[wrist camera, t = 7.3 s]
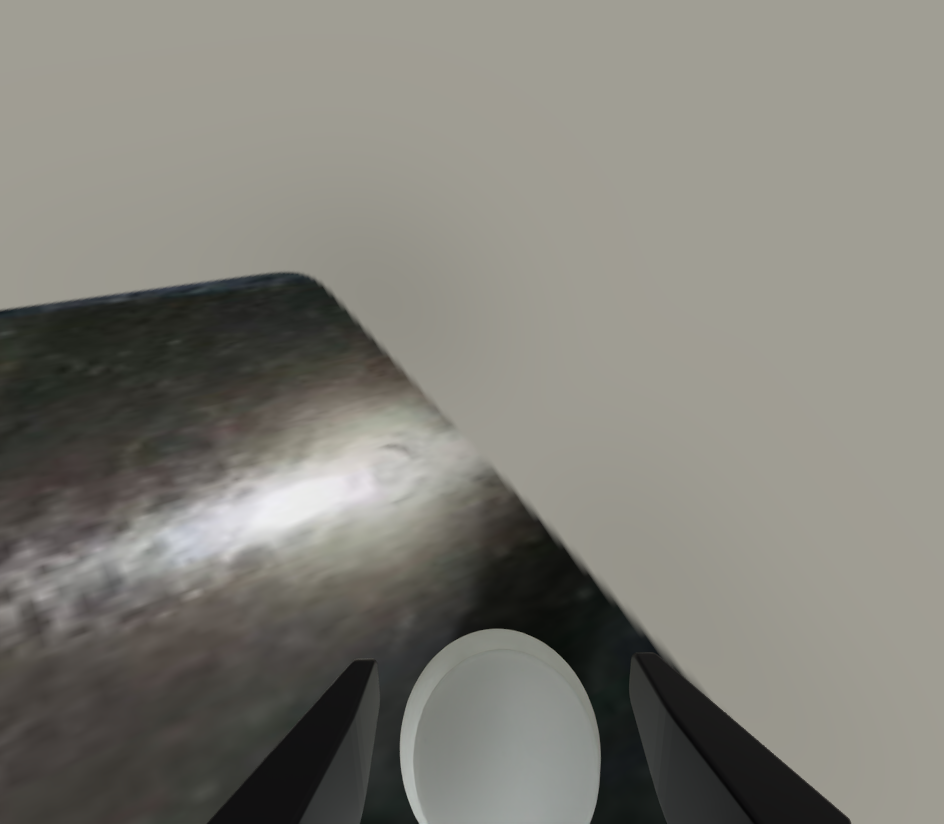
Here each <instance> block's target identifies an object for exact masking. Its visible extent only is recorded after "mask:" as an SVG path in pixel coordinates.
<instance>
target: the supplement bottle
mask: <svg viewBox="0 0 944 824" xmlns="http://www.w3.org/2000/svg"><path fill="white" fill-rule="evenodd" d="M400 762H401V772H402V778H403V783H404V787H405V791H406V794H407V797H408V800H409V803H410V805H411V808H412V810H413V813H414V815H415V817H416V819H417V820H418V822H419V824H590V821H591V819H592V816H593V813H594V810H595V806H596V802H597V796H598V790H599V780H600V762H601V752H600V738H599V732H598V727H597V722H596V718H595V714H594V711H593V708H592V705H591V703H590V700H589V698H588V695H587V693H586V691H585V689H584V687H583V685H582V684H581V682H580V680H579V678H578V677H577V675H576V674H575V672H574V671H573V670H572V669H571V667H570V666H569V665H568V664H567V662H566V661H565V660H564V659H563V658H562V657H561V656H560V655H559V654H558V653H557V652H555V651H554V650H553V649H552V648H550V647H549V646H548V645H546V644H545V643H543V642H541V641H540V640H538V639H536V638H534V637H532V636H530V635H527V634H525V633H522V632H518V631H514V630H508V629H487V630H481V631H477V632H473V633H470V634H468V635H465V636H463V637H461V638H459V639H457V640H455V641H453V642H452V643H450V644H449V645H447V646H446V647H445V648H443V649H442V650H441V651H440V652H439V653H438V654H437V655H436V656H435V657H434V658H433V659H432V660H431V661H430V662H429V664H428V665H427V666H426V668H425V669H424V670H423V672H422V673H421V675H420V676H419V678H418V680H417V682H416V684H415V685H414V687H413V690H412V692H411V694H410V697H409V699H408V702H407V705H406V709H405V713H404V717H403V722H402V727H401V736H400Z"/></svg>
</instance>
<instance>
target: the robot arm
mask: <svg viewBox="0 0 944 824" xmlns="http://www.w3.org/2000/svg"><path fill="white" fill-rule="evenodd" d="M629 694H630V700H631V705H632V708H633V712H634V715H635V719H636V722H637V726H638V730H639V733H640V737H641V740H642V744H643V748H644V751H645V755H646V758H647V762H648V766H649V769H650V773H651V776H652V780H653V783H654V787H655V790H656V793H657V797H658V799H659V802H660V805H661V808H662V811H663V814H664V816H665V819H666V821H667V824H851V821H850V819H849V818H848V817H847V816H846V815H844V814H843V813H842V812H841V811H839V809H837V808H836V807H835V806H834V805H833V804H831V803H830V802H829V801H828V800H827V799H826V798H824V797H823V796H822V795H821V794H820V793H819V792H817V791H816V790H815V789H814V788H813V787H812V786H810V785H809V784H808V783H807V782H806V781H805V780H803V779H802V778H801V777H800V776H799V775H798V774H796V773H795V772H794V771H793V770H792V769H790V768H789V767H788V766H787V765H786V764H785V763H783V762H782V761H781V760H780V759H779V758H778V757H776V756H775V755H774V754H773V753H772V752H771V751H769V750H768V749H767V748H766V747H765V746H764V745H762V744H761V743H760V742H759V741H758V740H757V739H755V738H754V737H753V736H752V735H751V734H750V733H748V732H747V731H746V730H745V729H744V728H743V727H741V726H740V725H739V724H738V723H737V722H736V721H734V720H733V719H732V718H731V717H730V716H729V715H727V714H726V713H725V712H724V711H723V710H721V709H720V708H719V707H718V706H717V705H716V704H714V703H713V702H712V701H711V700H710V699H709V698H707V697H706V696H705V695H704V694H703V693H702V692H700V691H699V690H698V689H697V688H696V687H695V686H693V685H692V684H691V683H690V682H689V681H688V680H686V679H685V678H684V677H683V676H682V675H681V674H679V673H678V672H677V671H676V670H675V669H674V668H672V667H671V666H670V665H669V664H668V663H667V662H665V661H664V660H663V659H662V658H661V657H659V656H658V655H657V654H655V653H652V652H648V653H634V654H633V655H632V658H631V669H630V682H629ZM379 704H380V690H379V679H378V668H377V662H376V660H374V659H372V658H370V659H355V660H353V661H352V662H351V663H350V664H349V665H348V666H347V668H346V669H345V670H344V671H343V672H342V673H341V674H340V675H339V677H338V678H337V679H336V680H335V681H334V682H333V683H332V684H331V685H330V687H329V688H328V689H327V690H326V691H325V692H324V693H323V694H322V695H321V697H320V698H319V699H318V700H317V701H316V702H315V703H314V704H313V706H312V707H311V708H310V709H309V710H308V711H307V712H306V713H305V714H304V716H303V717H302V718H301V719H300V720H299V721H298V722H297V723H296V725H295V726H294V727H293V728H292V729H291V730H290V731H289V732H288V733H287V735H286V736H285V737H284V738H283V739H282V740H281V741H280V742H279V743H278V745H277V746H276V747H275V748H274V749H273V750H272V751H271V752H270V754H269V755H268V756H267V757H266V758H265V759H264V760H263V761H262V762H261V764H260V765H259V766H258V767H257V768H256V769H255V770H254V771H253V773H252V774H251V775H250V776H249V777H248V778H247V779H246V780H245V781H244V783H243V784H242V785H241V786H240V787H239V788H238V789H237V790H236V791H235V793H234V794H233V795H232V796H231V797H230V798H229V799H228V800H227V802H226V803H225V804H224V805H223V806H222V807H221V808H220V809H219V810H218V812H217V813H216V814H215V815H214V816H213V817H212V818H211V819H210V821H209V822H208V823H207V824H360V821H361V817H362V812H363V808H364V803H365V798H366V792H367V786H368V780H369V773H370V766H371V759H372V753H373V746H374V739H375V732H376V725H377V719H378V712H379Z"/></svg>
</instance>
